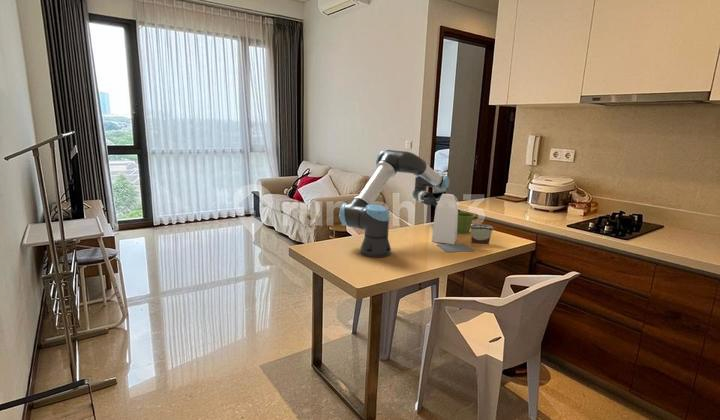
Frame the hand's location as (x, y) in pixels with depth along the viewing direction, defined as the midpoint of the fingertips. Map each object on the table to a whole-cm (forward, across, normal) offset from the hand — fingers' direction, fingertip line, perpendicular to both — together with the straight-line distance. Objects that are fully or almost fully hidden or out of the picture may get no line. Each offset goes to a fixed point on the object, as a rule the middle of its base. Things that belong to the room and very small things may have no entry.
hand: (442, 205), depth 218 cm
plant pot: (-6, -18, -18) cm, 26 cm away
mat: (+21, +1, -18) cm, 28 cm away
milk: (+8, +1, -18) cm, 20 cm away
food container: (+14, -17, -18) cm, 29 cm away
